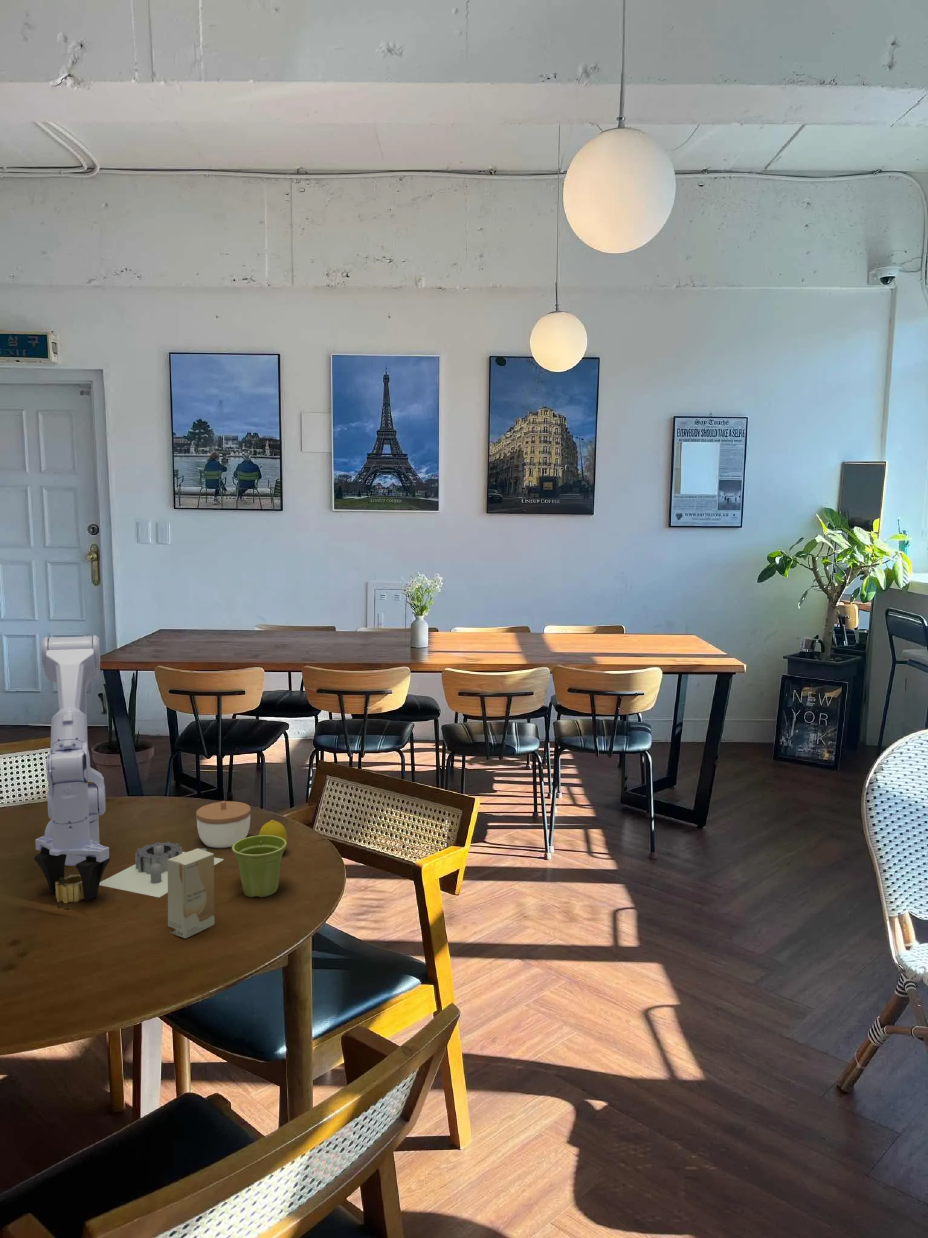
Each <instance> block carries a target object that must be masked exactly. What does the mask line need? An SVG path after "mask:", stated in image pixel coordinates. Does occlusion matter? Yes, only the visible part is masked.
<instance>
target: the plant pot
mask: <svg viewBox="0 0 928 1238" xmlns="http://www.w3.org/2000/svg"><path fill="white" fill-rule="evenodd" d="M285 847H287V845H286V840H284V839H283V838H281V837H278V836H273V835H259V834H258V835H253V836H248V837H247V836H246V838H244V839H241V840H239V841H237V842H236V843H234V844H233V846H232V847H231V850H232V852H233V853H234V855H235V858H236V860H237V864H238V869H239V876H240V881H241V887H242V893H243V894H244V896H247V897H249V898H254V897H259V898H266V897H269V896H271V895H273V894H275V893H276V892H277V891H278V889H279V883H280V873H281V865H282V858H283V854H284V851H285V850H284V848H285ZM285 849H286V848H285Z"/></svg>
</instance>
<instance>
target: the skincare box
mask: <svg viewBox="0 0 928 1238" xmlns="http://www.w3.org/2000/svg"><path fill="white" fill-rule="evenodd" d="M185 852H186V853H183V854H180V855H178V856H176V857H173V858H170V859H168V860H167V864H168V893H167V927H169V928H171V929H174V931H171V930H167V932H168V933H171V934H173V935H175V936H177V937H181V938H182V939H187V938H189V937H192V936H194V935H196V934H198V933H201V932H202V931H205V930H206V929H208V928H210V927H212V926H215V865H214V857H215V853H214V852H211V851H208V850H207V851H204V850H201V848H194V849H192V850H189V851H185Z"/></svg>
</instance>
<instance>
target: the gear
mask: <svg viewBox="0 0 928 1238" xmlns="http://www.w3.org/2000/svg"><path fill="white" fill-rule="evenodd" d="M157 845H163V846H164V853H163V854H154V846H157ZM182 852H183V846H182V845H181V846H180V843H178V842H176V843H171V841H166V842H159V841H158V842H156V841H155V842H154V843H152V844H144V846H143V847H138V848H137V849H136V852H135V853H134V855H135V856H134V857H135V864H136V869H138V872H140V873H142V872H146V873H147V874H151V871H150V866H151V865H152V864H156V863H159V864H161V873H163V872H166V871H168V864H167V860H168V859H170V858H173V857H176V856H178V855H180V854H182Z"/></svg>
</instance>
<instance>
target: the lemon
mask: <svg viewBox="0 0 928 1238" xmlns="http://www.w3.org/2000/svg"><path fill="white" fill-rule="evenodd" d="M259 835H273V836H278V837H281V838H283V839H284V840H286V847H287V844H288V834H287V830H286V828H285V826H284V825H283V824H282V823H280V821H277V820H274V819H271V820H270V821H267V822H266V823H264V824H263V825H262V826H261V828H260V830H259V833H258V836H259ZM286 847H285V848H284V851H285V850H286Z"/></svg>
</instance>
